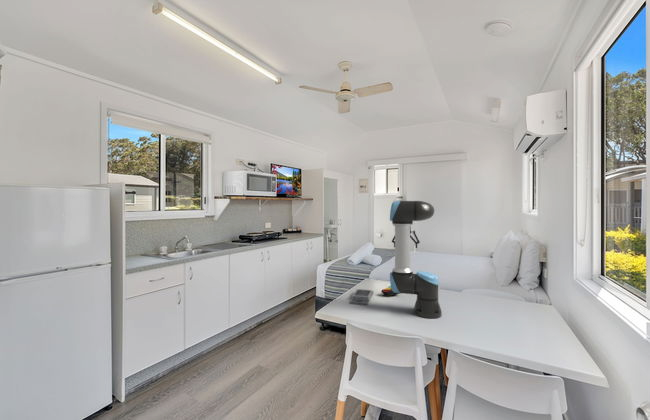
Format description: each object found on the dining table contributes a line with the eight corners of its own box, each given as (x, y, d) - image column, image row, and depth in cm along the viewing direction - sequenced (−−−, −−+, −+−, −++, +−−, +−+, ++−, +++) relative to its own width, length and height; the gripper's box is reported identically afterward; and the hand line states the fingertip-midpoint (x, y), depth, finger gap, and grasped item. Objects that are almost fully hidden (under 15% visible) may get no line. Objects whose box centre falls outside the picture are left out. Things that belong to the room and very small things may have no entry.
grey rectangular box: (367, 305, 175) (367, 300, 175) (349, 303, 178) (349, 298, 178) (373, 292, 202) (373, 288, 202) (358, 291, 205) (358, 287, 205)
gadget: (379, 294, 196) (379, 286, 196) (396, 293, 200) (396, 284, 200) (384, 297, 190) (384, 288, 190) (401, 295, 194) (401, 287, 194)
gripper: (422, 224, 213) (422, 252, 213) (388, 223, 220) (389, 250, 220) (423, 224, 206) (423, 253, 206) (388, 224, 213) (388, 252, 213)
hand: (405, 252), depth 213 cm, fingers open, 13 cm apart
